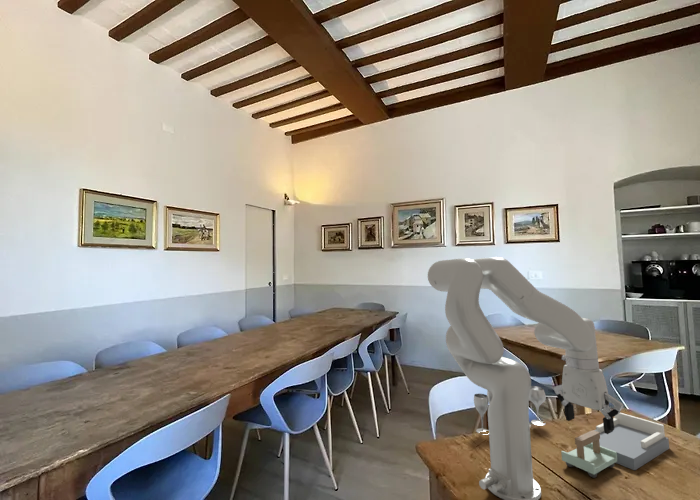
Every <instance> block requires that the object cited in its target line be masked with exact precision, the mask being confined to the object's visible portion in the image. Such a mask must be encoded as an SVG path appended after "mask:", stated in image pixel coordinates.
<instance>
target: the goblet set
mask: <svg viewBox="0 0 700 500" xmlns="http://www.w3.org/2000/svg"><path fill="white" fill-rule="evenodd" d="M486 391H487V392H486V394H484V393H475V394H474V395H473V405H474V407H475V409H476V411H477V412H478V414H479V416H480V421H481V428H476V430H475V432H476V433H477V434H479V433H480V432H486V431H489V429H486V428H484V416H485V414H486V412H488V407H489V404H490V402H491V400H492V397H493V393H492V392H490V391H488V390H486ZM545 392H546V391H545V390H544V388H543V387H541V386H537V385H536V386H535V385H531V389H530V396H529V402H531V403H532V404H533V406H535V410H536V418H537V419H532V420H531V421H530V423H529V426H530V428H531V427H532V424H533V425H535V426H546V422H545V423H543V422H544V420H543V421H542V420H541V419H540V420H539V408H540V406H541V405H542V404H543V403H544V402H545V401H546V398H547V397H546V393H545ZM531 423H532V424H531ZM483 435H486V436H487V435H489V433H488V434H483Z"/></svg>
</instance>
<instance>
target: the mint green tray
mask: <svg viewBox="0 0 700 500" xmlns="http://www.w3.org/2000/svg"><path fill="white" fill-rule="evenodd" d="M594 430H595V429H592V430H589V431H588V432H585V433H583V434H580V435H579V436H576V437H575V438H574V444H575V445H576V448H575V449H573V450H570V451H568V452H567V451H564V450H561V451H560V452H561V454H560V455H561V461H563V462H564V463H565V464H566V466H567V467H569V468H574V467H576V468H579V469H581V470H583V471H585V472H587V474H588V476H589V477H591V478H592V479H593V478H597V476H598V474H599V473H600V472H601V471H603V470H604V469H606V468H614V467H615V464H616V463H615V462H617V452H615V451H613V450H610V449H607V448H605V447H602V446H600V443H599V439H600V432H597V431H594ZM592 442H593V443H592Z"/></svg>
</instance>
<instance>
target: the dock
mask: <svg viewBox="0 0 700 500" xmlns="http://www.w3.org/2000/svg"><path fill="white" fill-rule="evenodd" d="M613 421H614V430H613V432H611V433H609V434H606V433H604V425H603V422H602V423H601V424H598V425H596V426H595V429H593V430H594V431H597V432H600V439H599V443H600V446H602V447H605V448H607V449H610V450H613V451H615V452H617V462H615V463H614V464H618V465H620V466H623V467H625V468H626V469H627V468H628V469H630V470H632V471H637V470H638V469H639V468H641V467H643V466H644V465H645V464H647V463H649V462H650V461H652V460H654V459H656V458H657V457H658V456H660V455H662V454H663V453H665V452H666V451H668V450H669V449H670V442H669V437H666V435H665V426H664V424H662V423H660V422H659V423H658V422H656V421H652V420H648V419H644V418H641V417H637V416H634V415H631V414H626V413H623V412H620V413H619V414H617V415H616V416H614V417H613ZM592 443H593V442H592Z"/></svg>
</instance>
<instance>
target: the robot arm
mask: <svg viewBox="0 0 700 500" xmlns="http://www.w3.org/2000/svg"><path fill="white" fill-rule="evenodd" d="M427 281H428V283H429V285H431V287H432V288H433V289H434V290H437V291H439V292H445V293H446V292H447V294H446V299H445V304H444V305H445V307H444V313H445V317H446V319H447V321H448V323H449V325H450V326H449V327H448V328H447V331H446V334H445V342H446V347H447V349H448V351H449V353H450V354H451V356H452V358H453V359H454V360H455V362H456V363H457V364H458V366H459V368H460V369H461V370H462V372H463V374H465V376H466V377H467V379H468V380H469V381H470V382H472V383H473V384H474V385H476V386H477V387H480V388H482V389H484V390H486V391H487V390H488V391H490V392H492V393H493V397H492V400H491V402H490V404H488V409H487V422H488V423H487V424H488V431H489V434H488V438H489V441H488V442H489V455H490V456H489V457H490V458H489V459H490V468H488V472H487V473H486V475H485V477H484V478H482V479H480V480H479V481H478V485H479V487H480V489H482V490H486V489H488V490H489V491H490V492H491V493H492V494H493V495H495V496H496V497H498V498H500V499H501V500H540V498H541V496H542V489H541V486H540V484H539V483H538V482H537V481H536V480H535V479H534V475H533V474H534V473H533V472H534V471H533V459H532V458H533V457H532V443H531V441H532V440H531V430H530V428H531V427H530V426H529V424H530V413H529V412H530V411H529V408H530V407H529V405H530V404H529V402H530V400H529V396H530V389H531V386H532V378H531V374H530V372H529V371H528V369H527V368H526V367H525V366H524V365H523V364H521V362H519V361H517V360H514V359H511V358H508V357H505V356H503V355H504V351H505V350H504V349H505V348H504V344H503V341H502V340H501V338H500V336H499V335H498V333H497V332H496V330H495V328H494V327H493V325H492V324H491V322H490V320H489V319H487V317H486V315H485V313H484V312H483V310H482V308H481V306H480V301H479V299H480V292H481V289H482V290H483V289H484V290H485V289H487V290H489V291H491V292H492V293H493V294H494V295H495V296H496V297H498V299H500V301H501V302H503V304H504V305H506V306H507V307H508V308H509V310H511V311H512V312H513V313H514V314H516V315H518V316H520V317H523V318H524V319H527V320H530V321H532V322H536V323H537V324H536V325H535V327H534V331H533V333H534V337H535V338H536V340H537V341H538V342H540V344H542V345H543V346H546V347H547V346H548V347H552V348H556V349H562V350H564V351H565V355H561V360H563V361H565V364H564V365H563V370H562V376H561V378H562V379H561V382H562V383H561V384H559V385H556V386H553V391H554V393H555V394H556V397H557V399H559V401H560V403H561V405H562V406H563V410H564V415H565V419H566V421H568V422H570V421H572V420H575V408H574V405H577V406H581V407H584V408H588V409H591V410H595V411H600V413H601V414H602V415H603V416H604V417H603V418H602V423H603V425H604V433H606V434H609V433H611V432H613V430H614V421H613V418H615V416H616V415H617V414H619V413H621V411H622V409H623V408H624V403H622V402H621V401H620V400H619V399H617V398H615V397H614V396H612V395H610V394H609V390H608V386H607V381H606V377H605V376H604V372H603V370H602V369H600V365H599V364H600V363H599V354H598V347H597V346H598V345H597V337H596V336H597V335H596V328H595V323H594V321H593V320H592V319H590V318H586V317H581V316H580V315H579V314H578V312H576V311H575V310H574V309H572V308H570V307H569V306H568V305H566V304H564V303H562V302H560V301H559V300H556V299H555V298H553V297H551V296H549V295H547V294H545V293H543V292H541V291H539V290H538V289H537V288H536V287H535V286H534V285H533V284H532V283H531V282H530V281H529V279H527V278H526V277H525V276H524V274H522V273H521V272H520V271H519V270H518V269H517V268H516V267H515V266H514V265H513V263H511V262H510V261H509V260H508V259H506V258H503V257H500V256H498V257H497V256H494V257H481V258H474V259H471V258H466V257H465V258H454V259H443V260H438V261H436V262H433V264H431V265H430V267H429V269H428V271H427ZM610 404H612V405H613V409H611V407H610Z"/></svg>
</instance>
